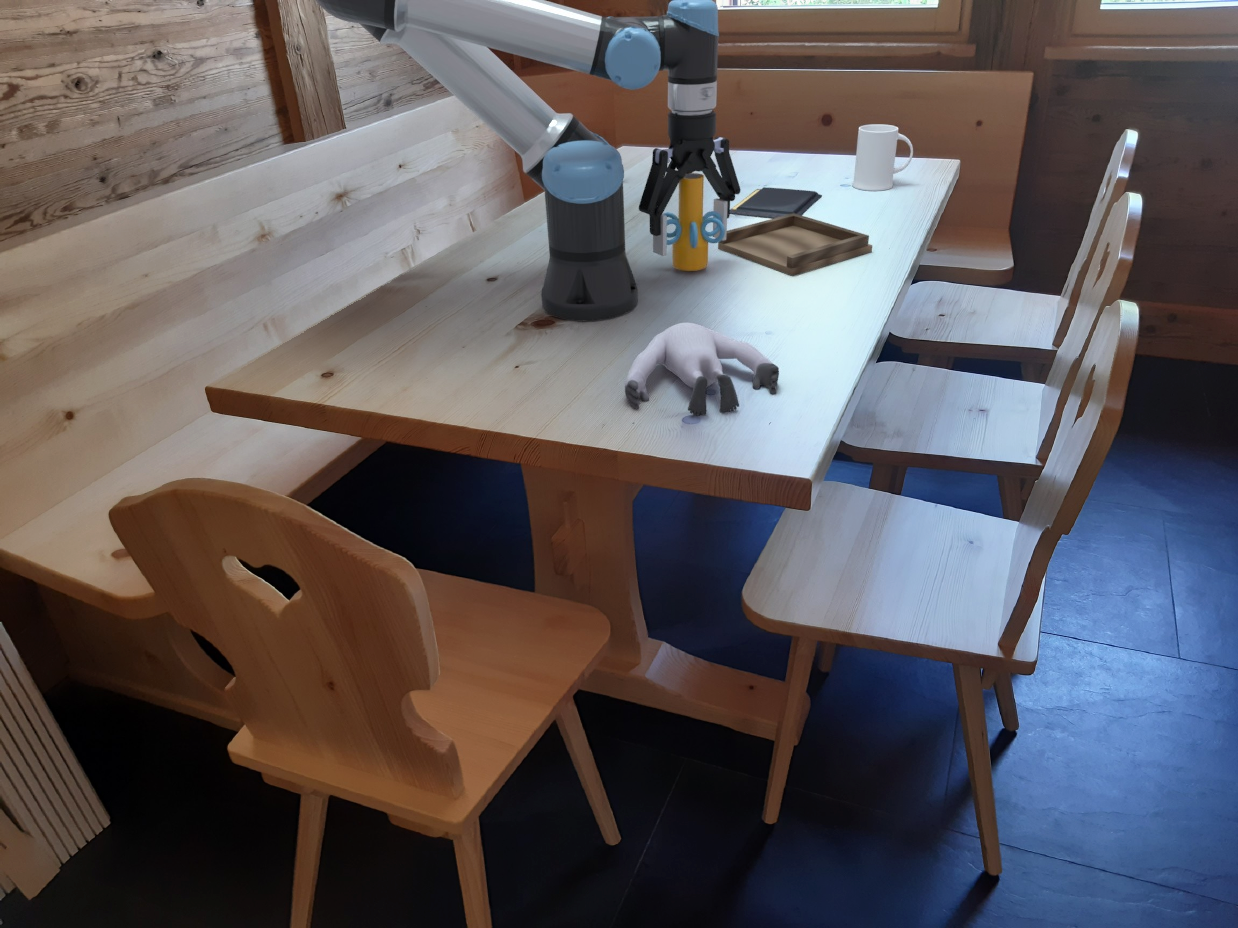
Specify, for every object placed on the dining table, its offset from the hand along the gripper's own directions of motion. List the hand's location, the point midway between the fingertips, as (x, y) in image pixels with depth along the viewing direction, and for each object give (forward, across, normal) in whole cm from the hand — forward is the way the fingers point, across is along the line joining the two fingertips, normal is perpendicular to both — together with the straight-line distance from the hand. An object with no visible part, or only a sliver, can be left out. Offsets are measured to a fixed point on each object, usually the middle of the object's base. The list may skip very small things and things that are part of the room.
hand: (690, 246), depth 153 cm
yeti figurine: (+5, -26, -34) cm, 43 cm away
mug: (+4, +64, +15) cm, 66 cm away
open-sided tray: (+4, +20, -4) cm, 21 cm away
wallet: (+5, +38, +20) cm, 43 cm away
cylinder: (+4, 0, 0) cm, 4 cm away
